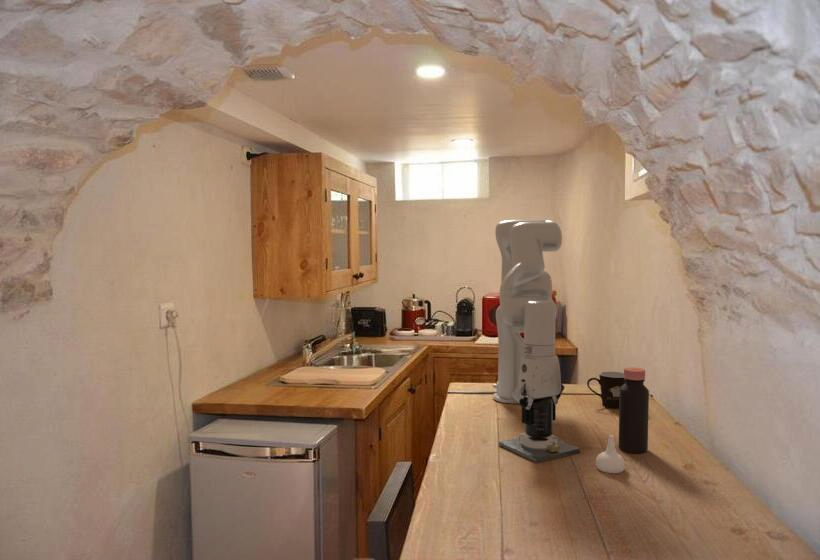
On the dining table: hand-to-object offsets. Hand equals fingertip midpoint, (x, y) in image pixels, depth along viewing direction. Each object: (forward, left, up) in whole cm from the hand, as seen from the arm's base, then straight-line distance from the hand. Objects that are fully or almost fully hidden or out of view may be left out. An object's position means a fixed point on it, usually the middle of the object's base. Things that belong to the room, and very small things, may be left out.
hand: (538, 421), depth 148 cm
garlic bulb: (+18, +5, -7) cm, 20 cm away
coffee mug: (-19, +46, -7) cm, 50 cm away
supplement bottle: (0, 0, -4) cm, 4 cm away
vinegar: (+12, +20, -7) cm, 24 cm away
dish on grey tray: (0, 0, -7) cm, 7 cm away
